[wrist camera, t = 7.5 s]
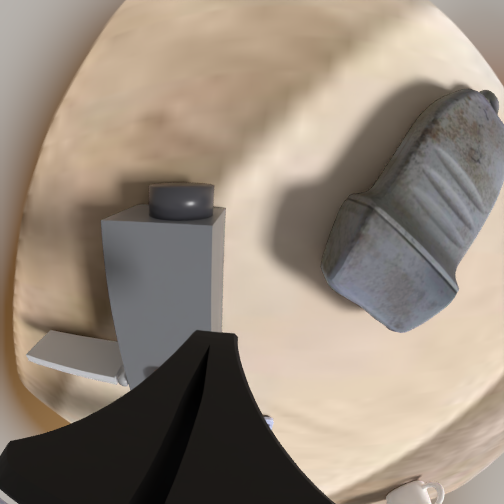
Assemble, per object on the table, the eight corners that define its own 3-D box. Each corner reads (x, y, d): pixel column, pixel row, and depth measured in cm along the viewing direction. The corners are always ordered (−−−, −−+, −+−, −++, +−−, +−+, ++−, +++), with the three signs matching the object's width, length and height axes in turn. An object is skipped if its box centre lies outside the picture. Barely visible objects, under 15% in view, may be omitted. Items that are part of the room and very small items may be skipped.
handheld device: (507, 136, 15) (543, 138, 10) (390, 318, 20) (413, 352, 16) (441, 52, 13) (475, 36, 9) (300, 254, 19) (311, 283, 15)
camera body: (221, 359, 21) (211, 410, 16) (150, 349, 22) (126, 395, 16) (226, 182, 17) (211, 192, 12) (137, 180, 17) (93, 191, 12)
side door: (146, 342, 21) (125, 379, 17) (149, 354, 21) (130, 391, 17) (51, 328, 21) (25, 354, 17) (55, 339, 22) (30, 365, 17)
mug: (426, 468, 30) (441, 509, 20) (444, 468, 31) (458, 504, 22) (377, 498, 34) (386, 536, 24) (399, 497, 35) (408, 531, 25)
